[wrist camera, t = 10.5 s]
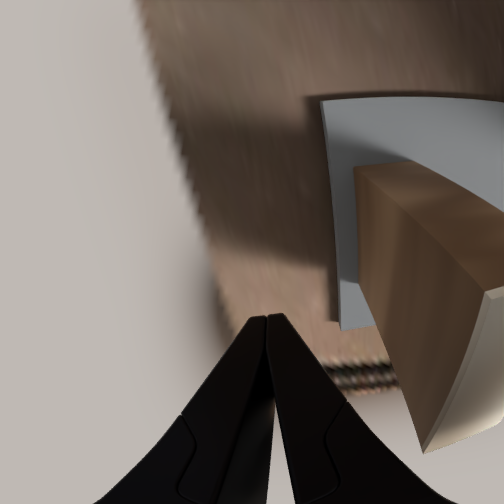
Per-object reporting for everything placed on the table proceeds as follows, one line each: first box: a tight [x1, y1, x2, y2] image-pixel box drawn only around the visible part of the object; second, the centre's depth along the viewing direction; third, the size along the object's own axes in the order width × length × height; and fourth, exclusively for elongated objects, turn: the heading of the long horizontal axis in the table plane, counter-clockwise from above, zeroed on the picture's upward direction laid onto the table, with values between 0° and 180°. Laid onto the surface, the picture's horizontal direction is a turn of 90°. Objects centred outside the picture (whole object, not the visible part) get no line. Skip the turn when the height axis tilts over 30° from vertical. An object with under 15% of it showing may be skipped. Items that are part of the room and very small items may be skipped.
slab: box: [353, 161, 504, 454], centre depth 8 cm, size 2×5×8 cm, turn 10°
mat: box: [319, 97, 504, 331], centre depth 11 cm, size 10×10×1 cm
